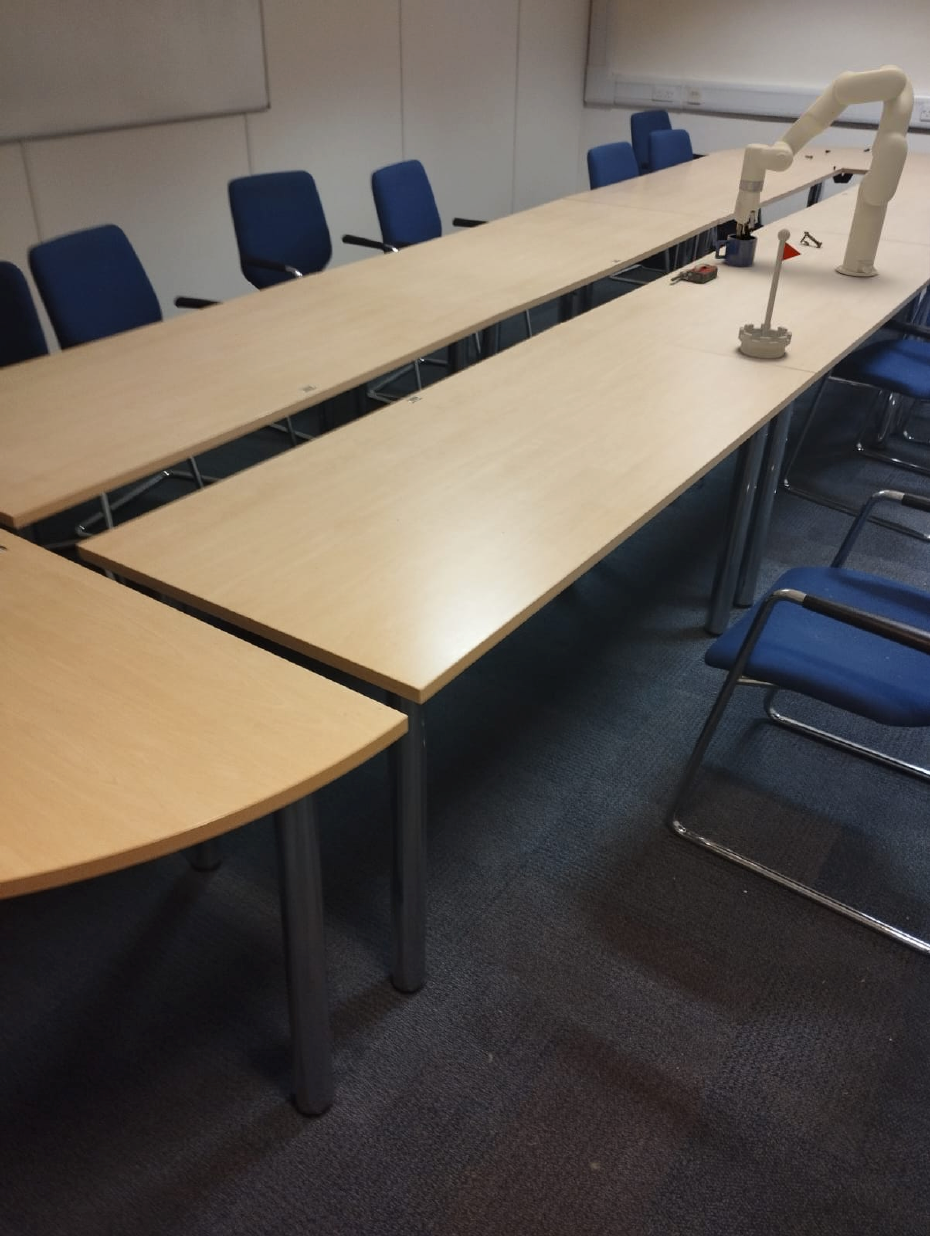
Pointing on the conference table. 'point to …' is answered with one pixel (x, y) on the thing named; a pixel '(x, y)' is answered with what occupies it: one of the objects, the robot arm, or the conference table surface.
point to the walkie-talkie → (698, 273)
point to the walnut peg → (739, 231)
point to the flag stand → (769, 315)
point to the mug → (738, 251)
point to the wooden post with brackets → (810, 239)
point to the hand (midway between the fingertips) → (741, 244)
